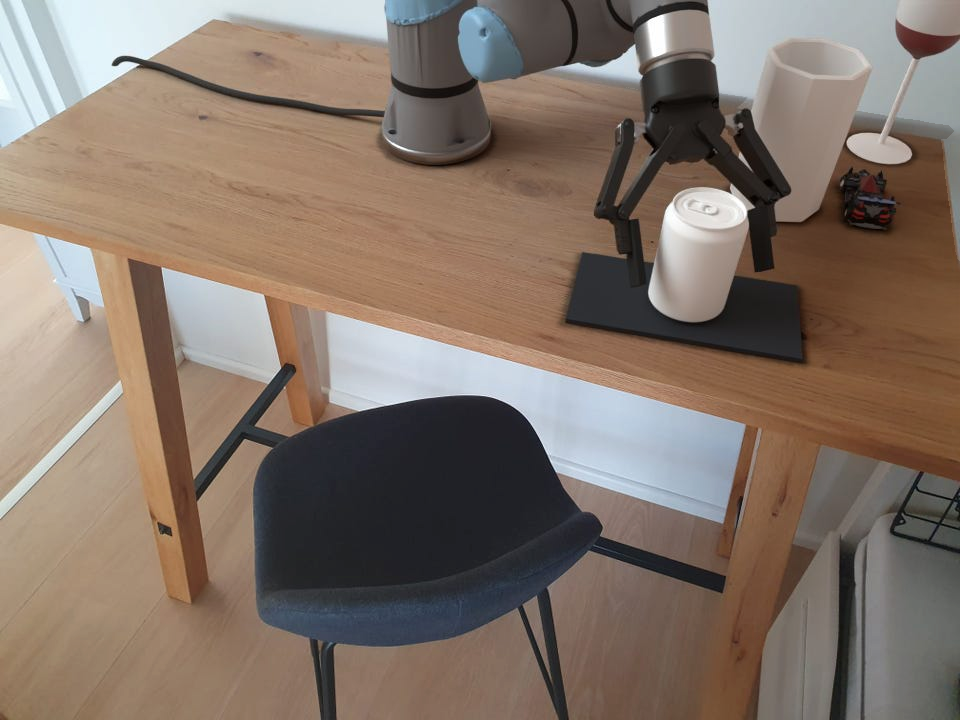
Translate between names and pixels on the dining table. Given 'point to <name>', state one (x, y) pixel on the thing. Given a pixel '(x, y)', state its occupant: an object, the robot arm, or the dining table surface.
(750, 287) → the place mat
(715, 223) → the beverage can
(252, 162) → the dining table surface
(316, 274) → the dining table surface
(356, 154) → the dining table surface
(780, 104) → the cup
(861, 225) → the toy car
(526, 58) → the robot arm
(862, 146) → the wineglass
